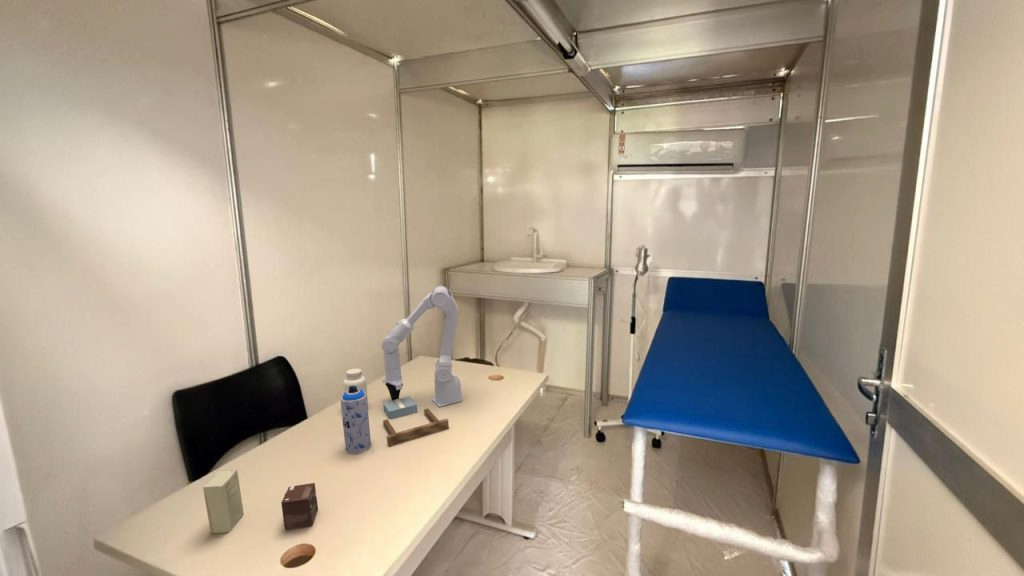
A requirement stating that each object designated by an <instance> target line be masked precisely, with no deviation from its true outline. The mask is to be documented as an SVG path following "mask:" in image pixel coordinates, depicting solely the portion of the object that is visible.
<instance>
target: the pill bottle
mask: <svg viewBox="0 0 1024 576" xmlns="http://www.w3.org/2000/svg"><path fill="white" fill-rule="evenodd" d="M345 374H346V375H345V378H344V380H343V381H342V388H343V394H344V393H345V392H347V391H348V390H349V387H350V386H357V389H360V390H362V391H363V392H365V393H366V395H367V396H368V390H367V389H368V386H367V380H366V377H365V376H363V373H362V369H361V368H350V369H348V370H347V371H345ZM368 400H369V399H368V397H367V405H368V406H369V402H368Z"/></svg>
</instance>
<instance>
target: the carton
mask: <svg viewBox="0 0 1024 576" xmlns="http://www.w3.org/2000/svg"><path fill="white" fill-rule="evenodd" d="M382 407H383V412H384V413H385V415H386V417H387V416H388V417H387V418H388V421H391V420H395V419H398V417H399V418H402V416H403V417H405V415H406V416H410V415H414V414H417V413H418V404H417V402H415V400H414V399H413V398H412V397H411V396H406V397H402V398H399V399H396V400H393V401H392V400H388V401H386V402H383V406H382ZM413 413H414V414H413ZM409 414H410V415H409ZM394 418H395V419H394ZM390 419H391V420H390Z"/></svg>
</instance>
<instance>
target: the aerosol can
mask: <svg viewBox="0 0 1024 576" xmlns="http://www.w3.org/2000/svg"><path fill="white" fill-rule="evenodd" d="M367 398H368V394H367V395H366V393H365V392H363V391H362V390H360V389H357V386H350V387H349V390H348V391H347V392H345V393H344V392H343V395H342V396H341V397H340V405H341V406H340V409H341V418H342V430H343V437H344V438H343V439H344V451H345V453H346V454H348V455H359V454H363V453H366V452H368V451H369V450H370V449H371V447H373V445H372V444H373V443H372V440H371V439H372V438H371V429H370V418H369V408H368V407H369V404H368V405H367Z"/></svg>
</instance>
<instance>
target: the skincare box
mask: <svg viewBox="0 0 1024 576" xmlns="http://www.w3.org/2000/svg"><path fill="white" fill-rule="evenodd" d="M238 472H239V471H238V469H224V470H222V469H221V470H218V471H217V472H216V473H215V474H214V475H213V476H212V477H211V478H210V479H209V480H208V481H206V483H205V484H204V485H203V487H202V489H203V495H204V501H205V506H206V514H207V519H208V520H207V521H208V526H209V531H210V534H220V533H223V534H224V533H231V531H232V529H234V528H235V526H236V525H237V523H238V522H239V521H240V520H241V518H242V517H243V515H244V507H243V499H242V494H241V493H242V492H241V486H240V479H239V473H238Z"/></svg>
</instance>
